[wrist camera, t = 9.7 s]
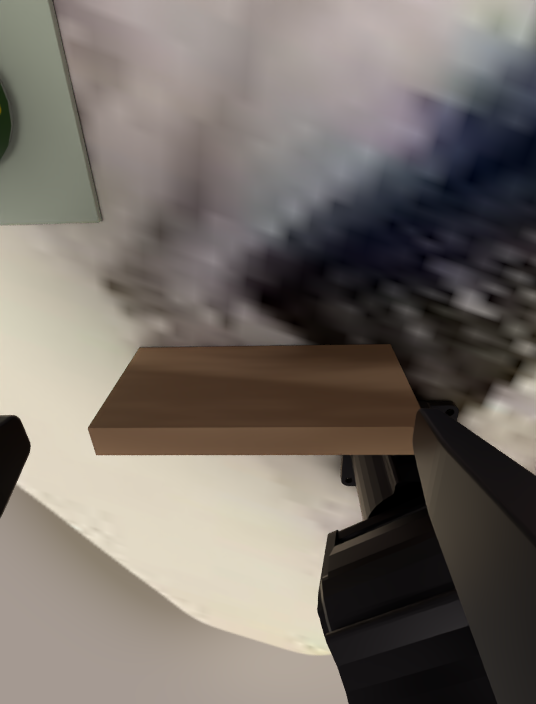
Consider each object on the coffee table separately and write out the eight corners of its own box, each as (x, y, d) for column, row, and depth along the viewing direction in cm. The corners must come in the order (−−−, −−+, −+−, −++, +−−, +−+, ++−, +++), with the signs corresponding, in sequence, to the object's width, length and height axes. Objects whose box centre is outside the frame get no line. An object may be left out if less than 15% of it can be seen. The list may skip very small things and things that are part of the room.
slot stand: (387, 367, 23) (423, 454, 17) (144, 370, 24) (96, 455, 18) (503, -568, 10) (833, -1609, 4) (-43, -502, 11) (-466, -1310, 5)
